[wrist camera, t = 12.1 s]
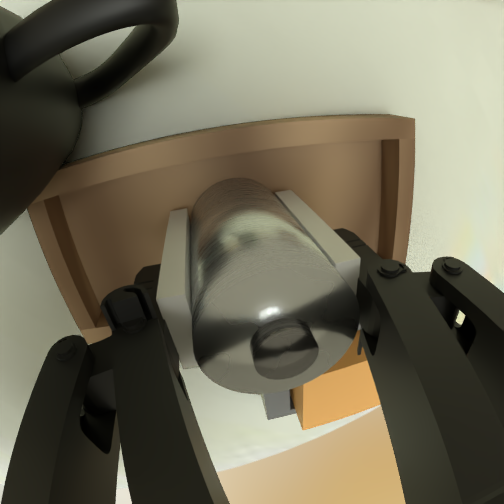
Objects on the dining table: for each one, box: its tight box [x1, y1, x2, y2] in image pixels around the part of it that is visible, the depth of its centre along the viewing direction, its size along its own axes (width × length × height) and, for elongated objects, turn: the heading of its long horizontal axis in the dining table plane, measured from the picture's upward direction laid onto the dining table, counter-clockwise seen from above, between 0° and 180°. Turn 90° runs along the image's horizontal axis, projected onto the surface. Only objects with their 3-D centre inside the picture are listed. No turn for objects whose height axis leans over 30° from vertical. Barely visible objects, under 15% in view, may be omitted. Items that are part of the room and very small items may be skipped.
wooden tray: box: [27, 114, 415, 344], centre depth 14 cm, size 18×9×2 cm, turn 97°
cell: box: [190, 178, 360, 394], centre depth 11 cm, size 4×4×9 cm
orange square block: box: [290, 330, 381, 430], centre depth 18 cm, size 6×6×3 cm
